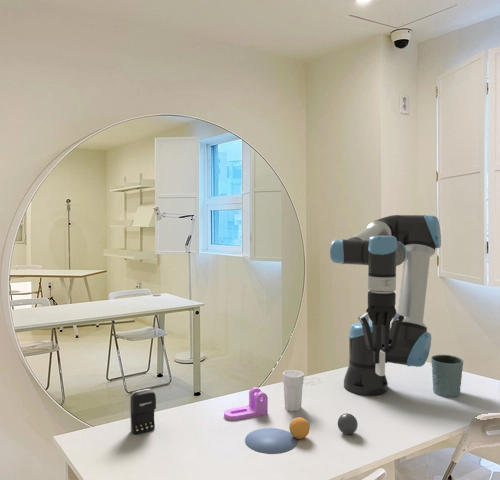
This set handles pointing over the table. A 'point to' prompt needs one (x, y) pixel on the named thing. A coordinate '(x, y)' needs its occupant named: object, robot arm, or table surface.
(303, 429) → the object ball
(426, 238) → the robot arm
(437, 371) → the teal tapered pot
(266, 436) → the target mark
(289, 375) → the cup
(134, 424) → the battery charger
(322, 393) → the table surface
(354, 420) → the gray ball
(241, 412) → the bracket
